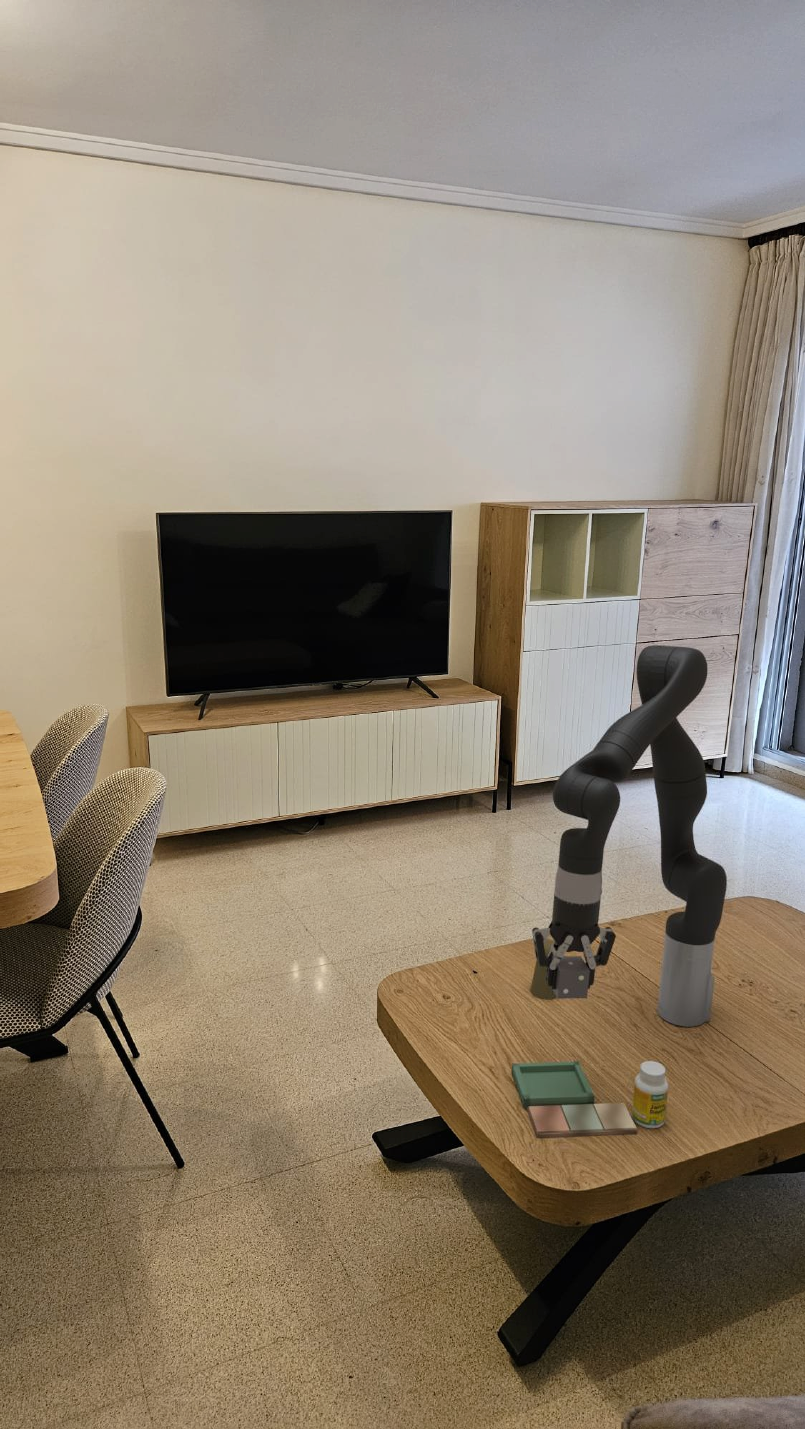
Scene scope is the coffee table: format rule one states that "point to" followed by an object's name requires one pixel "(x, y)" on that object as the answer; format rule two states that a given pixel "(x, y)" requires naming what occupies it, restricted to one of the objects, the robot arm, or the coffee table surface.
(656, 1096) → the supplement bottle
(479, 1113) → the coffee table surface
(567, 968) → the die
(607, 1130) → the track
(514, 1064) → the tray
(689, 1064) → the coffee table surface
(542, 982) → the olive game pawn
